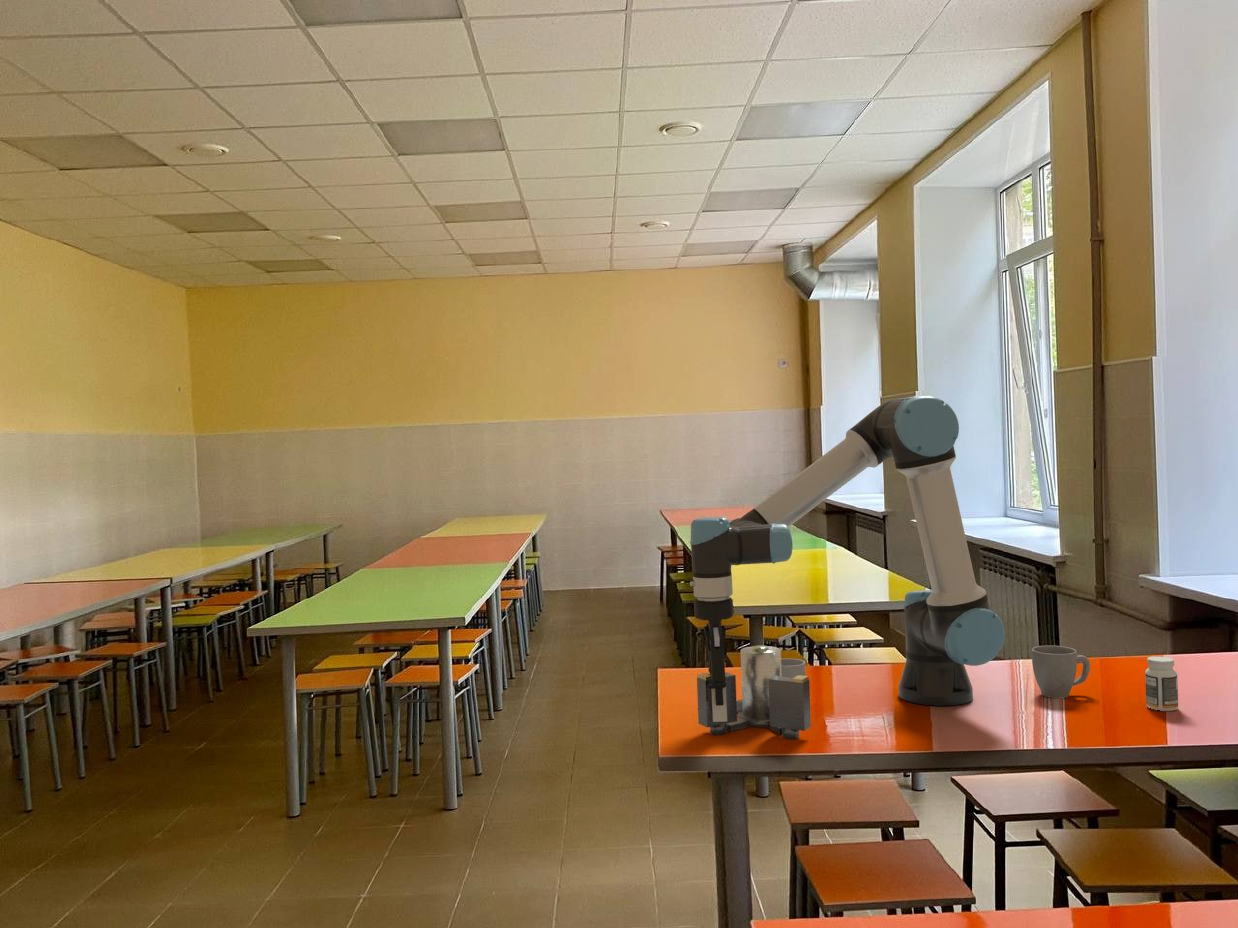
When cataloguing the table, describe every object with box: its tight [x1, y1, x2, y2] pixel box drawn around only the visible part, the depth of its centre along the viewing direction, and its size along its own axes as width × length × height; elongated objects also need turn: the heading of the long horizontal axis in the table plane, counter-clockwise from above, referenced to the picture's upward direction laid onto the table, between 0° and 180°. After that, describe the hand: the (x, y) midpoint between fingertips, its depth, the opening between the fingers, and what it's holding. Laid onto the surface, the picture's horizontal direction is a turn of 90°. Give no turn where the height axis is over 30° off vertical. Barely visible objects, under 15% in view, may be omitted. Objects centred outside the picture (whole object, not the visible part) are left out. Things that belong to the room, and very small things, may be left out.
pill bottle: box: [1144, 656, 1179, 712], centre depth 197 cm, size 6×6×10 cm
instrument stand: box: [726, 645, 782, 735], centre depth 198 cm, size 13×16×15 cm
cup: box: [781, 658, 806, 678], centre depth 210 cm, size 7×10×9 cm
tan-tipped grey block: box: [696, 671, 738, 736], centre depth 191 cm, size 7×3×12 cm, turn 119°
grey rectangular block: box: [768, 675, 812, 740], centre depth 187 cm, size 7×3×12 cm, turn 57°
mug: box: [1031, 645, 1091, 699], centre depth 210 cm, size 12×9×10 cm
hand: (719, 716), depth 192 cm, fingers closed on tan-tipped grey block, 5 cm apart
